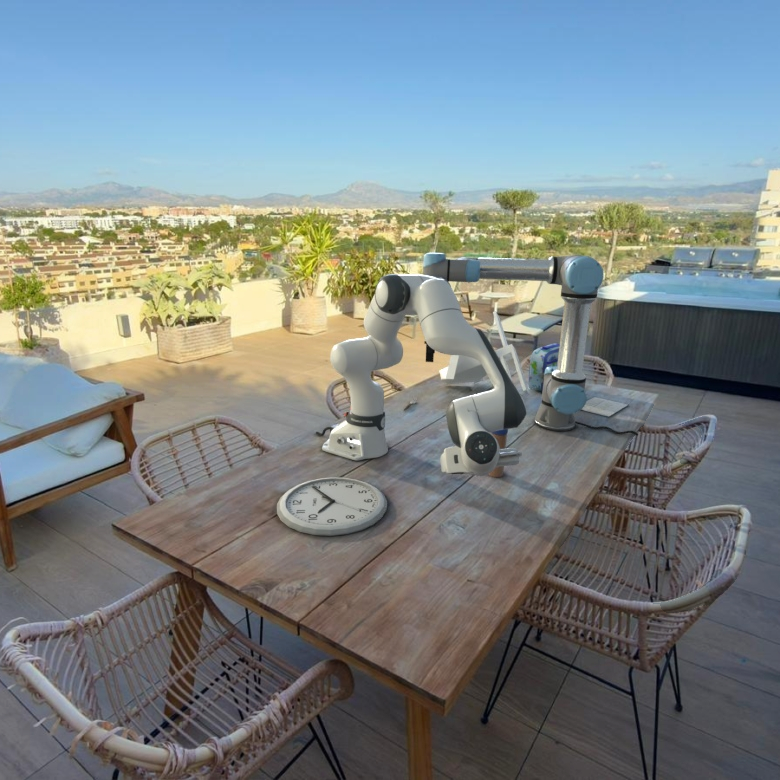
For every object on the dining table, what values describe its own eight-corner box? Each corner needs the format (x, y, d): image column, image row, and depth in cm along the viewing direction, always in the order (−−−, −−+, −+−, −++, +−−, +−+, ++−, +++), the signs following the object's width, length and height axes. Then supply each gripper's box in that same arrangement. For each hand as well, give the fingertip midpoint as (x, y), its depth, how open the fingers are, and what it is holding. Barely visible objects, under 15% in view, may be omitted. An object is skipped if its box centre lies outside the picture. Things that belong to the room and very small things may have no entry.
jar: (484, 471, 164) (488, 426, 159) (497, 469, 166) (500, 424, 162) (493, 478, 160) (497, 432, 155) (506, 475, 162) (510, 429, 157)
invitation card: (608, 416, 214) (573, 407, 224) (608, 416, 214) (573, 408, 224) (628, 404, 229) (594, 396, 238) (628, 405, 229) (594, 397, 238)
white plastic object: (461, 429, 252) (437, 405, 227) (444, 352, 274) (420, 323, 250) (535, 404, 240) (518, 377, 215) (510, 326, 262) (492, 293, 237)
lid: (487, 430, 160) (487, 425, 159) (500, 427, 162) (501, 422, 162) (497, 436, 156) (497, 431, 155) (511, 433, 158) (511, 428, 157)
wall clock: (392, 527, 129) (268, 531, 127) (391, 533, 130) (269, 537, 127) (383, 473, 158) (282, 475, 155) (383, 478, 158) (282, 480, 156)
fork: (400, 411, 216) (400, 406, 215) (412, 399, 230) (412, 395, 230) (406, 412, 215) (406, 407, 215) (418, 400, 230) (418, 396, 229)
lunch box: (544, 395, 239) (549, 351, 233) (524, 390, 247) (528, 347, 240) (571, 384, 257) (577, 343, 251) (552, 380, 264) (556, 339, 258)
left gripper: (520, 439, 128) (515, 448, 142) (437, 449, 131) (440, 457, 144) (524, 465, 127) (519, 472, 140) (440, 474, 129) (443, 480, 142)
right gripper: (424, 293, 195) (422, 349, 202) (419, 302, 172) (417, 365, 178) (444, 294, 195) (441, 350, 201) (442, 303, 171) (439, 366, 177)
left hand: (478, 464), depth 142 cm, fingers open, 8 cm apart
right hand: (430, 357), depth 190 cm, fingers open, 13 cm apart
